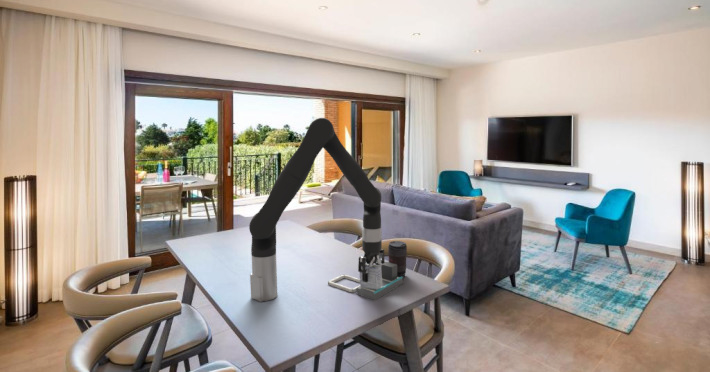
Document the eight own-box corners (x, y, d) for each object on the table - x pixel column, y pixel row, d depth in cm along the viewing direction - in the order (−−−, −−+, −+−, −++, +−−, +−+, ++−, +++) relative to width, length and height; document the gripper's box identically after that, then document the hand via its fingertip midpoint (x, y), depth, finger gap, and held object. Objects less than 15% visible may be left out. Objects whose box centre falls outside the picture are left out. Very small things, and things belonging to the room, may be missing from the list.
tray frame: (352, 292, 146) (352, 290, 146) (327, 284, 154) (327, 281, 154) (368, 284, 154) (368, 281, 154) (344, 276, 162) (344, 274, 162)
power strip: (375, 300, 139) (375, 278, 138) (356, 293, 145) (356, 273, 144) (402, 283, 155) (402, 264, 154) (384, 278, 160) (385, 259, 159)
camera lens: (385, 277, 162) (385, 244, 160) (392, 271, 169) (392, 239, 167) (402, 280, 158) (403, 247, 156) (408, 274, 165) (409, 242, 163)
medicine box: (382, 286, 144) (381, 265, 144) (377, 290, 141) (375, 268, 140) (366, 283, 149) (364, 262, 148) (360, 287, 145) (358, 265, 144)
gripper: (374, 233, 150) (374, 270, 152) (352, 240, 139) (353, 281, 141) (390, 236, 145) (389, 275, 148) (368, 244, 134) (368, 286, 137)
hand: (371, 278), depth 144 cm, fingers open, 8 cm apart
